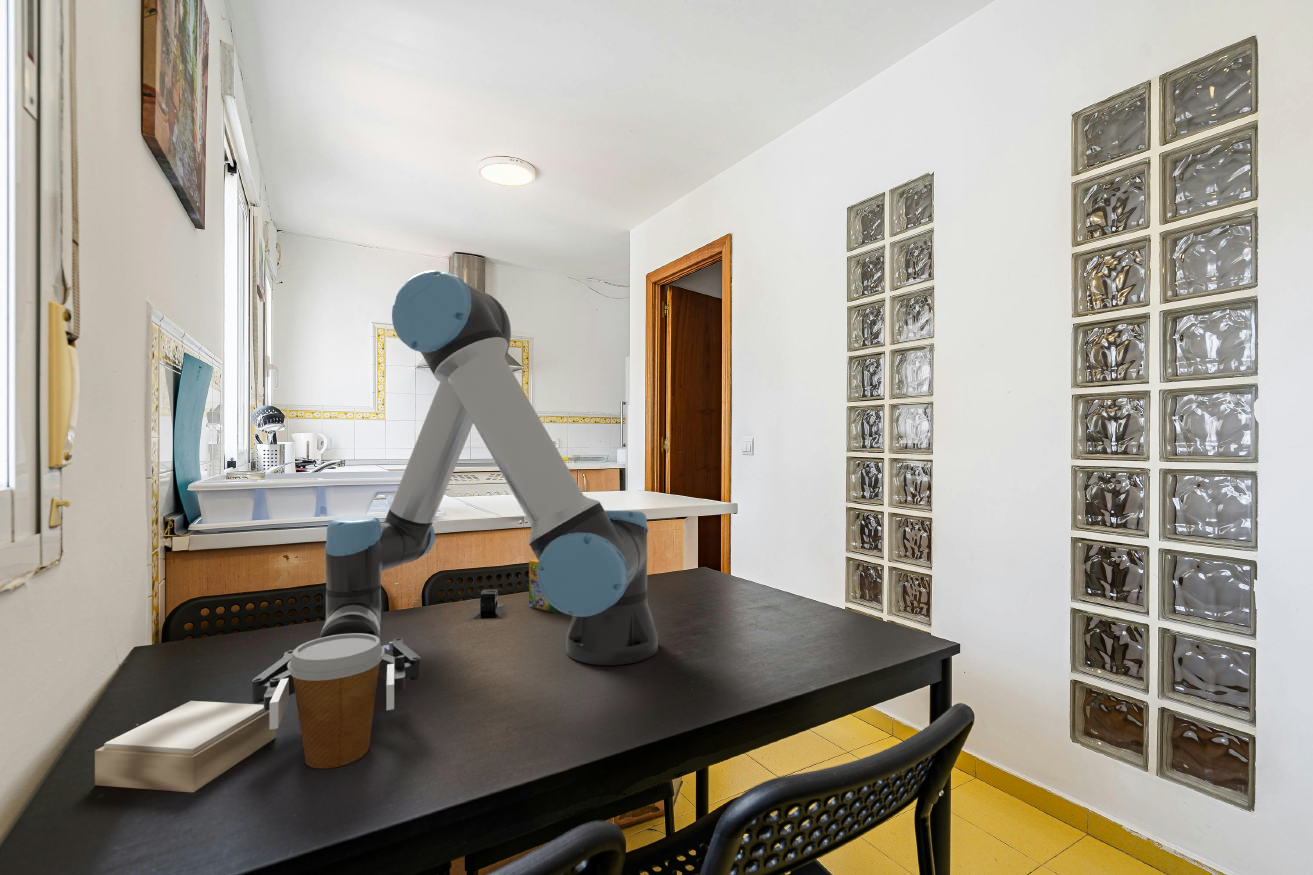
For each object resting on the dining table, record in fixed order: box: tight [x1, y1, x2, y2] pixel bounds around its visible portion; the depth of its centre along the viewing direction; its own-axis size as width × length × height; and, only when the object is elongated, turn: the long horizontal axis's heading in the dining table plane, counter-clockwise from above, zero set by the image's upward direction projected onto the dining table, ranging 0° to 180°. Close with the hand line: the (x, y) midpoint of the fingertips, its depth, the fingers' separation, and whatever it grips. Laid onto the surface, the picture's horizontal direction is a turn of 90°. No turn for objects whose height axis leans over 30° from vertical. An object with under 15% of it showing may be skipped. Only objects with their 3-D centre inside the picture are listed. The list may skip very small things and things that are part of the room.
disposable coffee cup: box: [287, 633, 384, 769], centre depth 67 cm, size 10×10×12 cm
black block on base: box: [471, 588, 505, 620], centre depth 122 cm, size 12×7×5 cm, turn 9°
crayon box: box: [528, 558, 560, 613], centre depth 124 cm, size 7×3×12 cm, turn 55°
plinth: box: [94, 700, 277, 793], centre depth 66 cm, size 11×11×4 cm
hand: (334, 706), depth 63 cm, fingers open, 10 cm apart
